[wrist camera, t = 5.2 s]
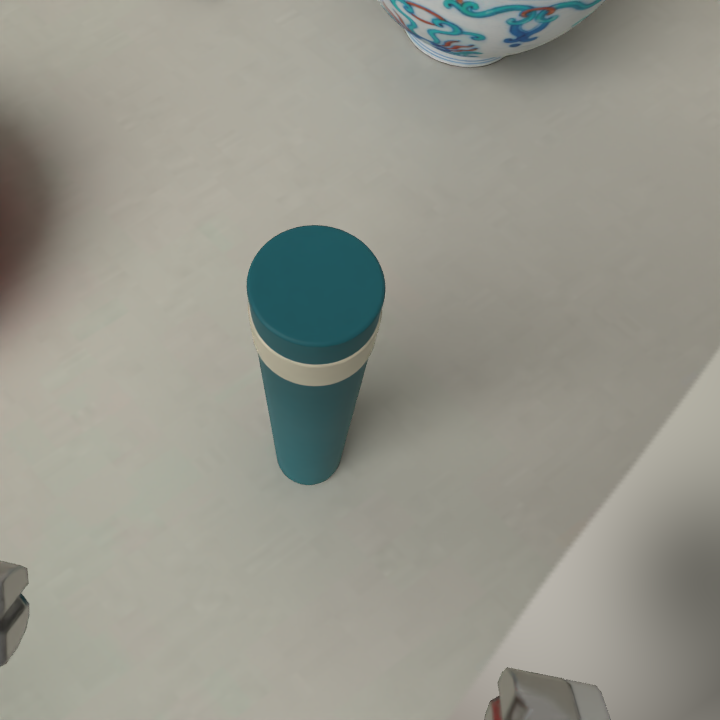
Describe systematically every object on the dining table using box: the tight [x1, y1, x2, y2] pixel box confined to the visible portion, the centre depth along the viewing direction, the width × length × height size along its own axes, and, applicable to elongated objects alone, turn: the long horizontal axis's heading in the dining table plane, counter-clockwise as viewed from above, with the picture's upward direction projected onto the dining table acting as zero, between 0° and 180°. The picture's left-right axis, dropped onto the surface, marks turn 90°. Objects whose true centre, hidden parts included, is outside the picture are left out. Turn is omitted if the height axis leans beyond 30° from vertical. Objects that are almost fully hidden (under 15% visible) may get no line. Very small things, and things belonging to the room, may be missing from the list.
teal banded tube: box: [247, 225, 385, 485], centre depth 17 cm, size 3×3×14 cm
